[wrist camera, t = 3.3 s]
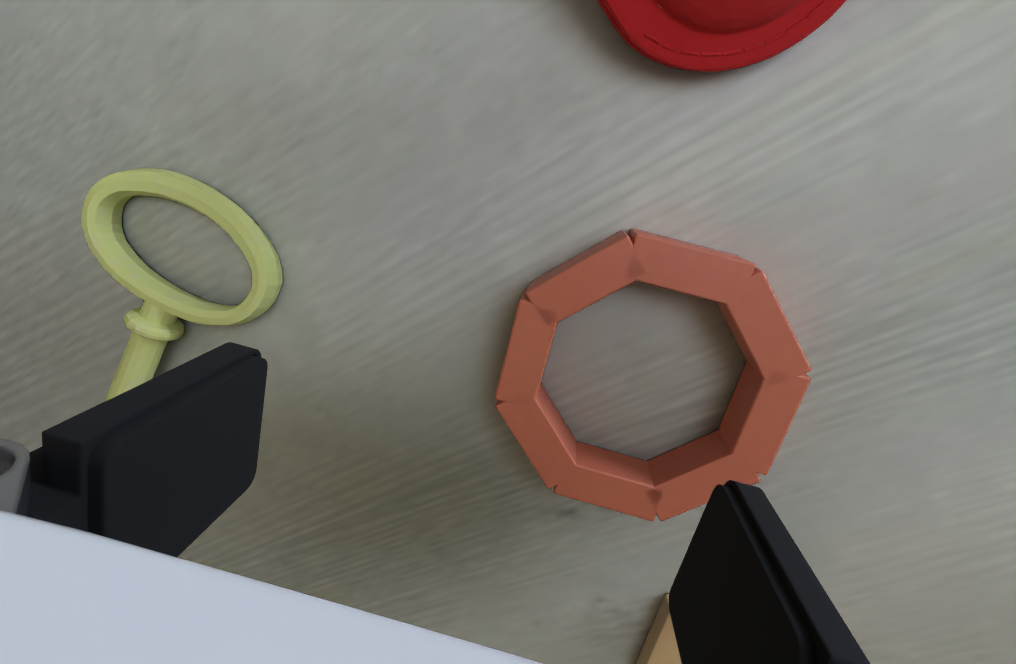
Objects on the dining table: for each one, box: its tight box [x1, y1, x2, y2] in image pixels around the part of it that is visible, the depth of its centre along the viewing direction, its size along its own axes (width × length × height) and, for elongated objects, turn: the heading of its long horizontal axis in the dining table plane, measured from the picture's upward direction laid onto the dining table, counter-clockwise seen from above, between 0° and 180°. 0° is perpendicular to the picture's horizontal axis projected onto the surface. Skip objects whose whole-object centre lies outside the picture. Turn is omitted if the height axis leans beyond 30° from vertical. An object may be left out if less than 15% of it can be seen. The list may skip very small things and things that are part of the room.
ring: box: [494, 228, 811, 521], centre depth 18 cm, size 10×10×2 cm
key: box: [82, 168, 282, 401], centre depth 20 cm, size 7×12×2 cm, turn 170°
